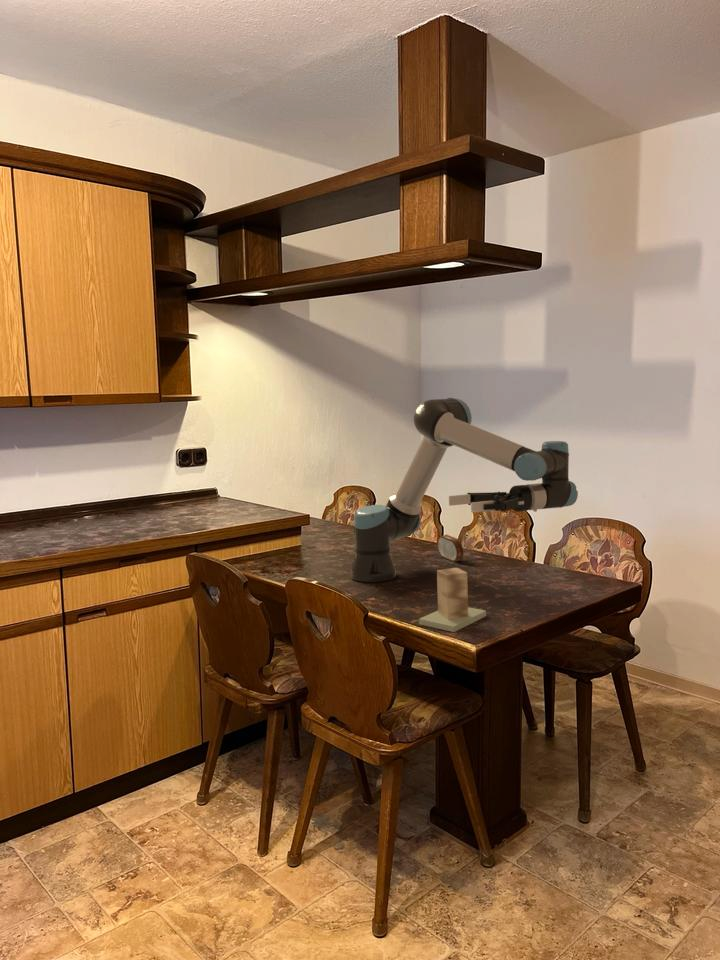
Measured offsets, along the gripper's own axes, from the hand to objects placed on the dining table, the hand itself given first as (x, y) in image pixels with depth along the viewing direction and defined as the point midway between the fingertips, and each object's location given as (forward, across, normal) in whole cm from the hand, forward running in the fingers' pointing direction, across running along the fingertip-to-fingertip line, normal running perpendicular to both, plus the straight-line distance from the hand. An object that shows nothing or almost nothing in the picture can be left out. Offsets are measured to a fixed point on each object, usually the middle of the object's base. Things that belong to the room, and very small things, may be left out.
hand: (460, 504), depth 204 cm
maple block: (+7, -8, -28) cm, 30 cm away
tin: (-23, +54, -30) cm, 66 cm away
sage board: (+7, -8, -30) cm, 32 cm away
